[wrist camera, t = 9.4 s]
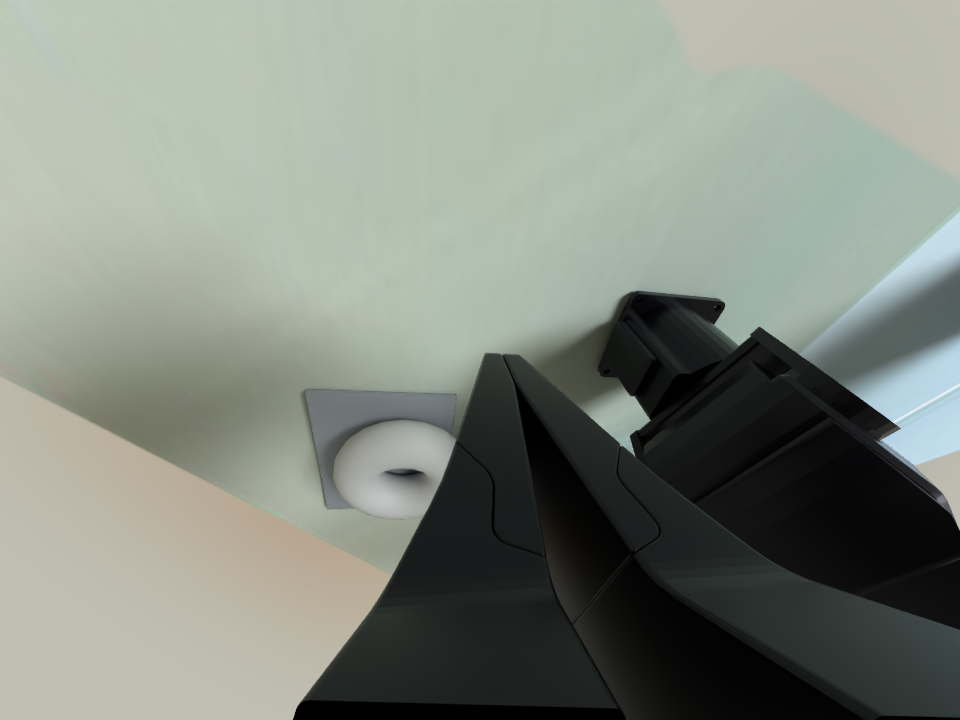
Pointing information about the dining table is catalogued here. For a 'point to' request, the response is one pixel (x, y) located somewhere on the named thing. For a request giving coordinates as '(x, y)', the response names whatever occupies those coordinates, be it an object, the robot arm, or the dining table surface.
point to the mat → (366, 423)
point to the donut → (393, 449)
